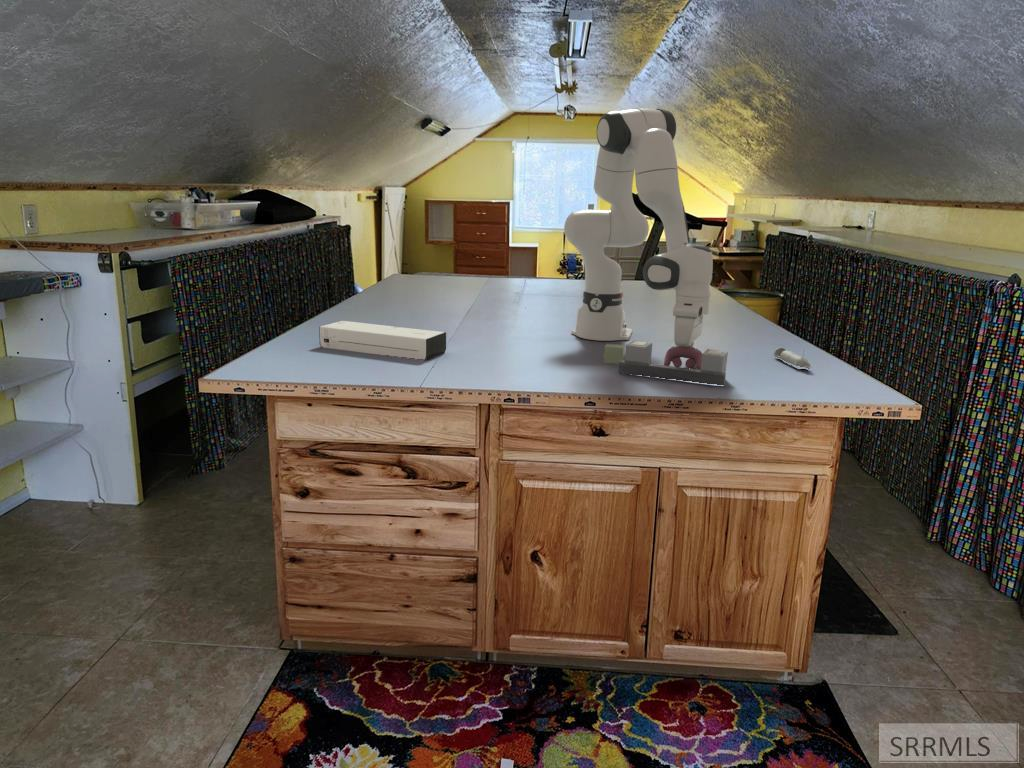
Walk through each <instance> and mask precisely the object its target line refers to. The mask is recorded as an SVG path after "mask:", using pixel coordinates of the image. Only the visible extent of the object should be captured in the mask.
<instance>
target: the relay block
mask: <svg viewBox="0 0 1024 768" xmlns="http://www.w3.org/2000/svg"><path fill="white" fill-rule="evenodd" d="M603 351H604V353H603V363H604V364H612V363H618V362H619V361H620V360H625V351H626V345H625V344H613V343H606V344H605V345H604V349H603Z"/></svg>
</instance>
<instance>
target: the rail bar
mask: <svg viewBox="0 0 1024 768" xmlns="http://www.w3.org/2000/svg"><path fill="white" fill-rule="evenodd" d="M618 363H619V364H618V374H619V373H623V374H622V375H626V374H632V375H631V376H633V375H642V376H650V377H659V378H665V379H676V380H683V381H692V382H699V383H707V384H717V385H724V384H726V383H725V382H726V376H727V372H726V373H721V372H713V371H705V370H697V369H696V368H695V369H694V368H691V369H689V368H687V367H682V366H680V367H675V366H674V365H673V366H672V365H669V366H665V365H664V364H654V363H651V364H649V363H641V362H633V361H625V359H624V360H620V361H619V362H618Z"/></svg>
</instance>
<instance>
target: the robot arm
mask: <svg viewBox="0 0 1024 768" xmlns="http://www.w3.org/2000/svg"><path fill="white" fill-rule="evenodd" d="M676 134H677V122H676V118H675V116H674V114H673V113H672V112H671V111H669V110H667V109H663V108H638V107H637V108H634V109H625V110H620V111H618V110H612V111H609V112H606V113H604V114H602V116H601V117H600V118H599V120H598V123H597V126H596V138H597V142H598V145H599V150H598V154H597V159H596V166H595V167H596V168H595V172H594V173H595V174H594V181H593V189H594V192H595V194H596V195H597V197H599V199H601V200H603V201H604V202H607V203H608V204H610V209H581V210H577V211H572V212H571V213H569V215H567V217H566V218H565V222H564V225H563V231H564V236H565V238H566V239H567V241H568V242H569V243H570V244H571V245H572V246H573V247H574V248H575V249H576V250H577V251H578V253H579V255H580V257H581V258H582V261H583V264H584V265H583V266H584V277H585V278H584V282H585V283H584V290H583V292H582V305H581V306H579V308H578V309H577V316H576V325H575V329H572V330H571V334H572V335H574V336H576V337H578V338H582V339H585V340H591V341H603V342H604V341H605V342H608V341H609V342H610V341H629V340H630V338H631V336H632V334H633V329H632V328H628V327H627V314H626V312H625V310H624V308H623V307H622V303H623V297H624V292H623V291H621V288H622V274H623V271H622V267H621V266H620V264H619V263H618V262H617V261H616V260H614V259H612V258H611V257H609V256H607V255H606V254H605V248H631V247H637V246H640V245H643V243H644V242H645V241H646V240H647V238H648V236H649V232H650V231H649V230H650V226H649V222H648V219H647V217H646V216H645V214H644V213H642V212H641V211H640V210H639V208H638V207H637V206H636V204H635V202H634V198H633V182H634V178H635V187H636V191H637V195H638V198H639V200H640V202H642V204H644V205H645V206H646V207H647V208H649V209H650V210H652V211H653V212H654V213H655V214H656V215H657V216H658V217H659V218H660V220H661V222H662V226H663V230H664V231H663V233H664V237H665V244H666V250H667V252H663V253H660V254H656V255H653V256H650V257H649V258H648V259H647V260H646V261H645V263H644V265H643V268H642V269H643V270H642V275H643V277H642V278H643V280H644V282H645V284H646V285H647V286H648V287H649V288H650V289H652V290H657V291H669V290H670V291H671V290H675V297H674V298H675V300H674V306H673V310H672V316H674V317H675V318H674V329H673V330H674V331H673V333H674V335H673V338H674V345H675V347H676V346H683V347H688V346H690V347H693V348H694V344H695V341H696V340H697V339H698V338H699V337H700V336H701V335H702V332H703V326H704V325H703V323H704V315H705V316H706V315H708V314H709V312H710V310H709V309H710V302H711V291H710V286H711V282H712V280H713V271H714V270H713V268H714V266H713V265H714V262H713V258H714V257H713V252H712V250H711V248H710V247H709V246H707V245H704V244H701V243H695V242H690V241H691V239H690V234H689V228H688V222H687V217H686V210H685V205H684V202H683V197H682V193H681V187H680V180H679V179H680V178H679V169H678V162H677V155H676V148H675V145H674V139H675V136H676ZM683 359H687V358H686V357H683Z"/></svg>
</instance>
